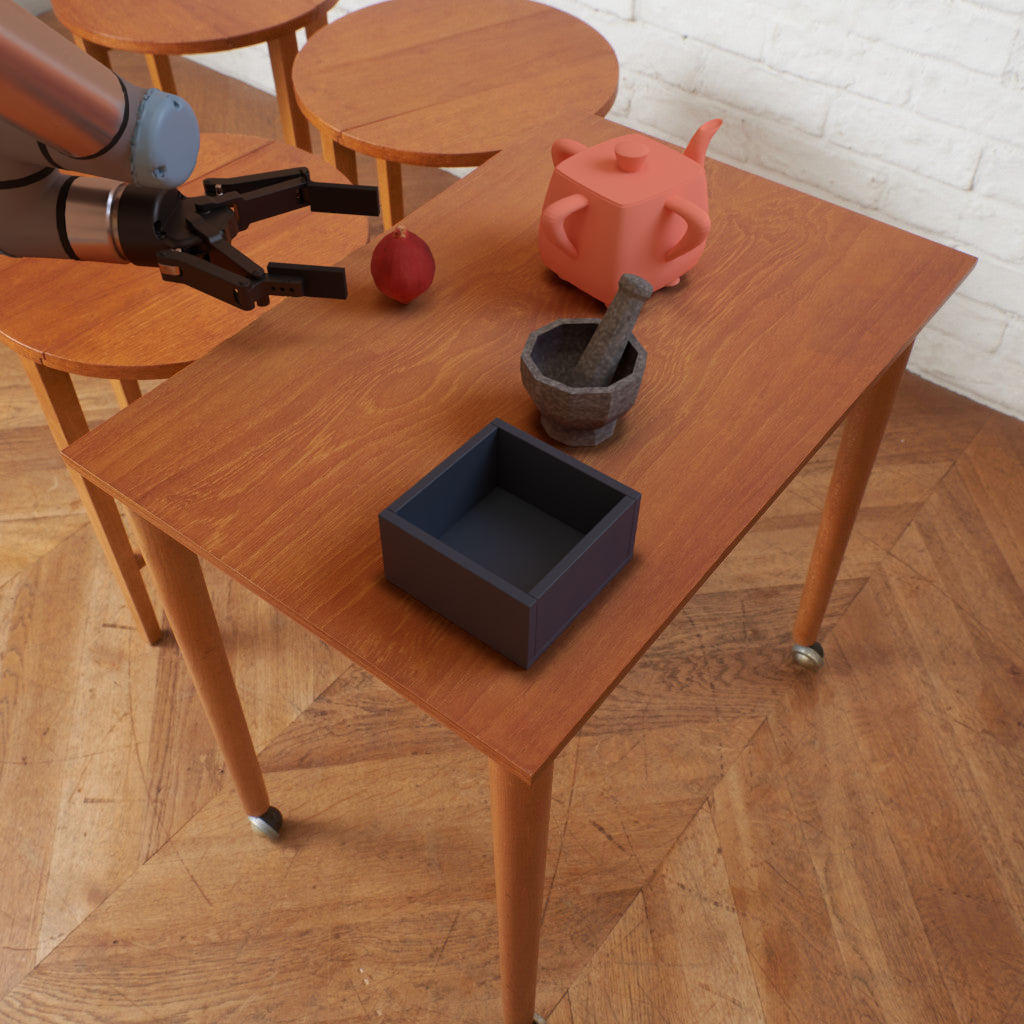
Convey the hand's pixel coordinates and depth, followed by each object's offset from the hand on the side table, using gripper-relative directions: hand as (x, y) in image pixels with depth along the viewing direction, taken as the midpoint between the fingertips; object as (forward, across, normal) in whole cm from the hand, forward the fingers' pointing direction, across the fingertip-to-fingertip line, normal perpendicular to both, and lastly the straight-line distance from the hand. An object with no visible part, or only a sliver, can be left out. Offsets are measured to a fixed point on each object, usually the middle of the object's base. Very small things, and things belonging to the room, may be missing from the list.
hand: (363, 240), depth 93 cm
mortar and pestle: (+21, +14, -6) cm, 26 cm away
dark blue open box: (+17, +31, -6) cm, 36 cm away
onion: (+4, 0, -6) cm, 7 cm away
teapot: (+24, -7, -6) cm, 25 cm away
